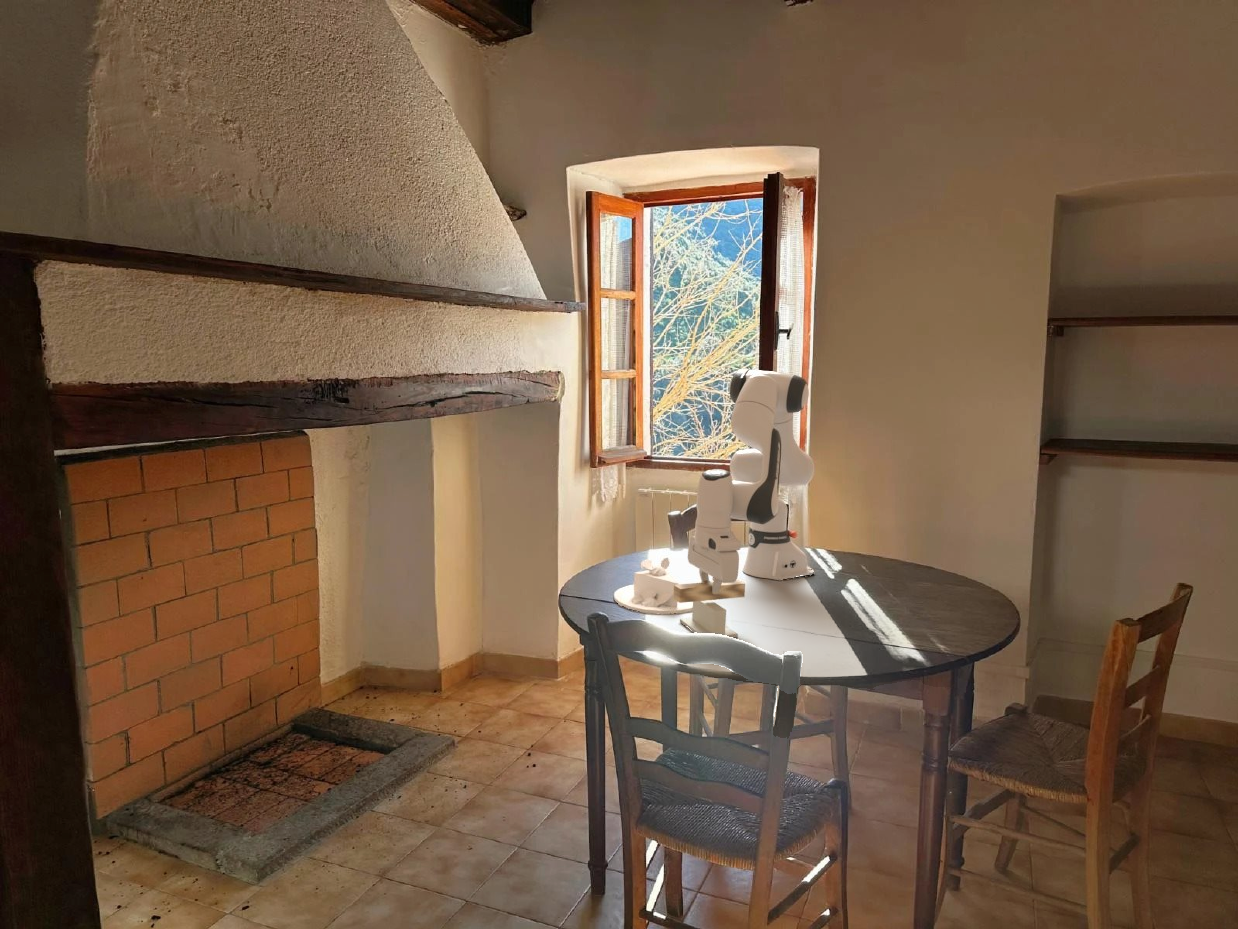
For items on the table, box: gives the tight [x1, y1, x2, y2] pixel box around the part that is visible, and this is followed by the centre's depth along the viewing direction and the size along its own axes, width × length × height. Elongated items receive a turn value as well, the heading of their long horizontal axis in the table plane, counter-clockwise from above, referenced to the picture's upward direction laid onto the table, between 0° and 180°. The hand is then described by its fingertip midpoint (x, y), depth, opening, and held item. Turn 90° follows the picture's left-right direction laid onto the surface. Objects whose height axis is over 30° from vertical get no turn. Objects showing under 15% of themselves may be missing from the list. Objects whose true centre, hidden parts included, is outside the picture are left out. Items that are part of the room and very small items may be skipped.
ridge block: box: [679, 600, 739, 639], centre depth 206 cm, size 9×14×7 cm, turn 21°
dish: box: [613, 557, 693, 615], centre depth 229 cm, size 25×25×11 cm
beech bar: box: [674, 579, 746, 603], centre depth 205 cm, size 18×4×4 cm, turn 111°
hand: (710, 590), depth 205 cm, fingers closed on beech bar, 3 cm apart
